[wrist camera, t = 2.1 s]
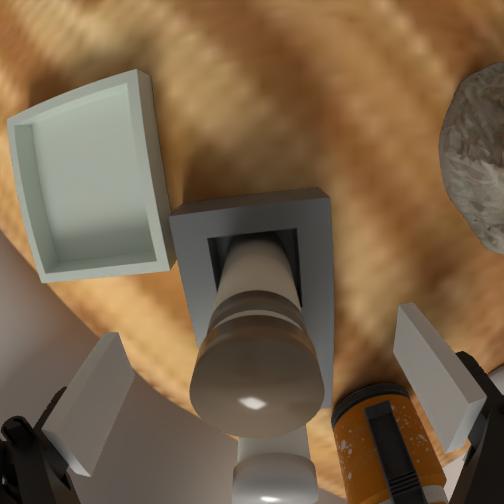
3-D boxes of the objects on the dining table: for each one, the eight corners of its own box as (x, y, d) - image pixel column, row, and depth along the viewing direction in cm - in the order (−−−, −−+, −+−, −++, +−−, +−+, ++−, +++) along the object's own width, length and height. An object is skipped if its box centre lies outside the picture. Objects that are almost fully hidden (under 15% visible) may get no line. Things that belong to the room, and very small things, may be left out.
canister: (336, 440, 33) (364, 586, 14) (319, 381, 29) (356, 575, 10) (406, 416, 32) (458, 553, 13) (404, 353, 28) (490, 523, 9)
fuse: (237, 335, 26) (224, 484, 13) (295, 329, 26) (320, 477, 13) (245, 377, 28) (238, 516, 15) (298, 372, 27) (317, 510, 14)
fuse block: (179, 203, 23) (165, 217, 20) (318, 187, 23) (330, 197, 19) (219, 387, 29) (215, 417, 26) (324, 377, 29) (331, 406, 25)
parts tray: (28, 118, 21) (6, 119, 18) (150, 76, 20) (136, 68, 17) (58, 269, 25) (41, 283, 23) (179, 255, 25) (170, 270, 22)
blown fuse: (219, 230, 23) (174, 352, 10) (286, 222, 23) (325, 339, 10) (229, 290, 25) (205, 440, 11) (292, 283, 24) (323, 431, 11)
